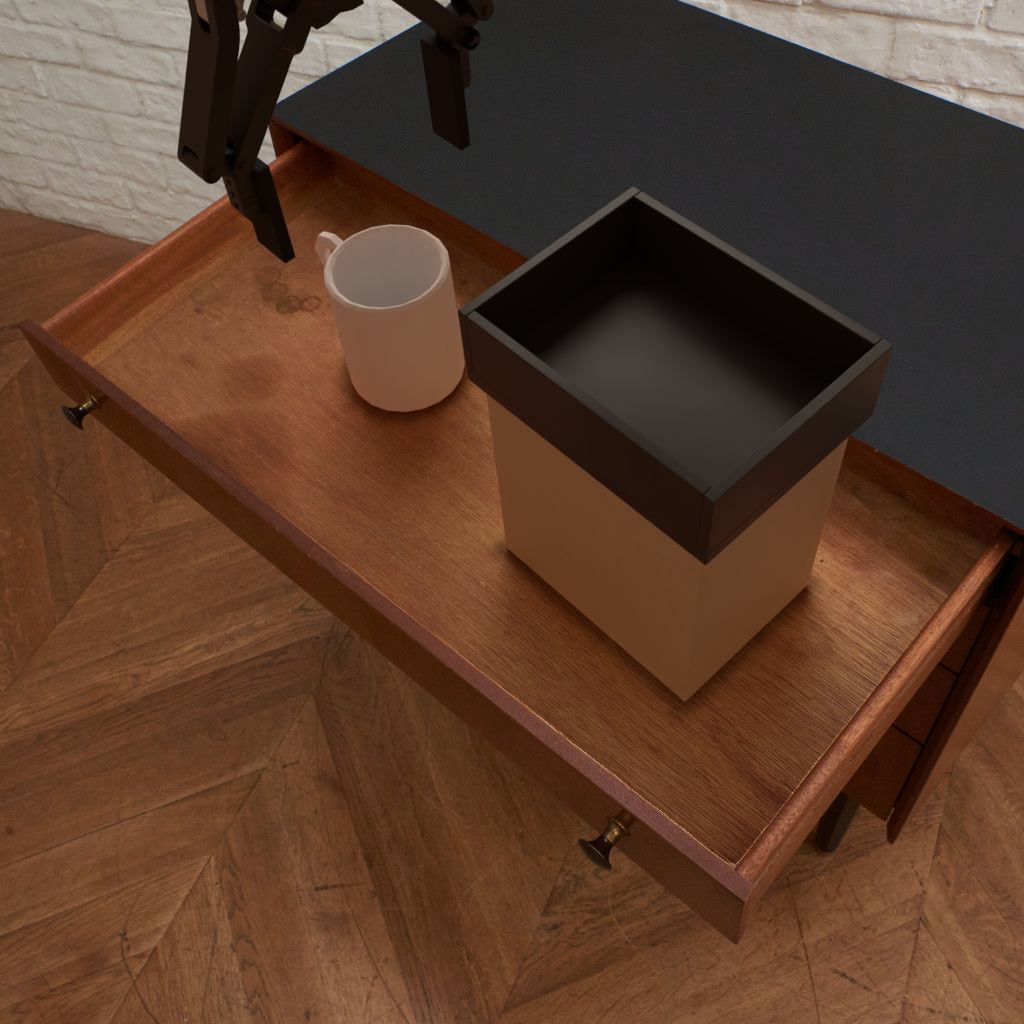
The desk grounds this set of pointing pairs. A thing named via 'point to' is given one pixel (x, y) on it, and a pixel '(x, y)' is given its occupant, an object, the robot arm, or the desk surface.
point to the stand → (654, 558)
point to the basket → (673, 368)
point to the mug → (394, 314)
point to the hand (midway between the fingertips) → (367, 192)
